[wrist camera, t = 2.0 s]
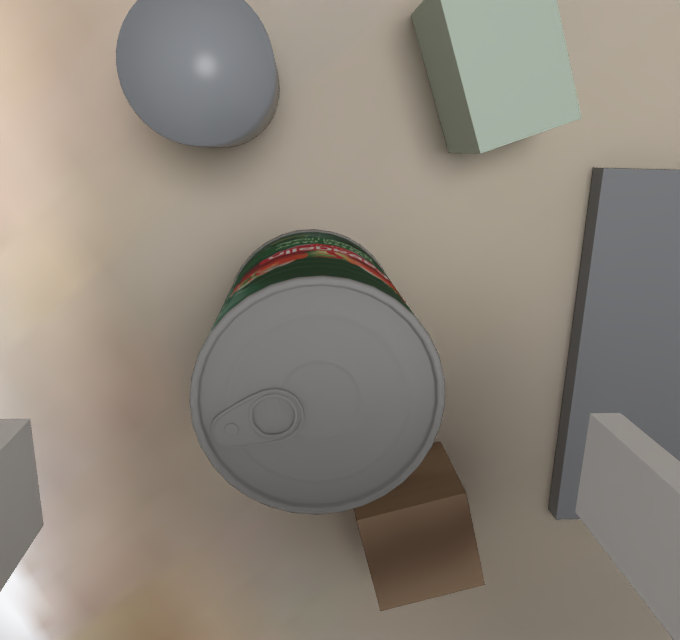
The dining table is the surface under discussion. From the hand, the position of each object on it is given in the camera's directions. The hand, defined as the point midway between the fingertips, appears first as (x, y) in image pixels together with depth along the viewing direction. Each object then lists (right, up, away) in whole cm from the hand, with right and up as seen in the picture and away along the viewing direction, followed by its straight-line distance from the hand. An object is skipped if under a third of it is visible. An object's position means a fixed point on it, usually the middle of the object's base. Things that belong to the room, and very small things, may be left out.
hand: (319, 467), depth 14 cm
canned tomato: (-1, +4, +15) cm, 16 cm away
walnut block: (+4, -6, +18) cm, 19 cm away
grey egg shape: (-5, +14, +12) cm, 19 cm away
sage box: (+6, +14, +12) cm, 20 cm away
